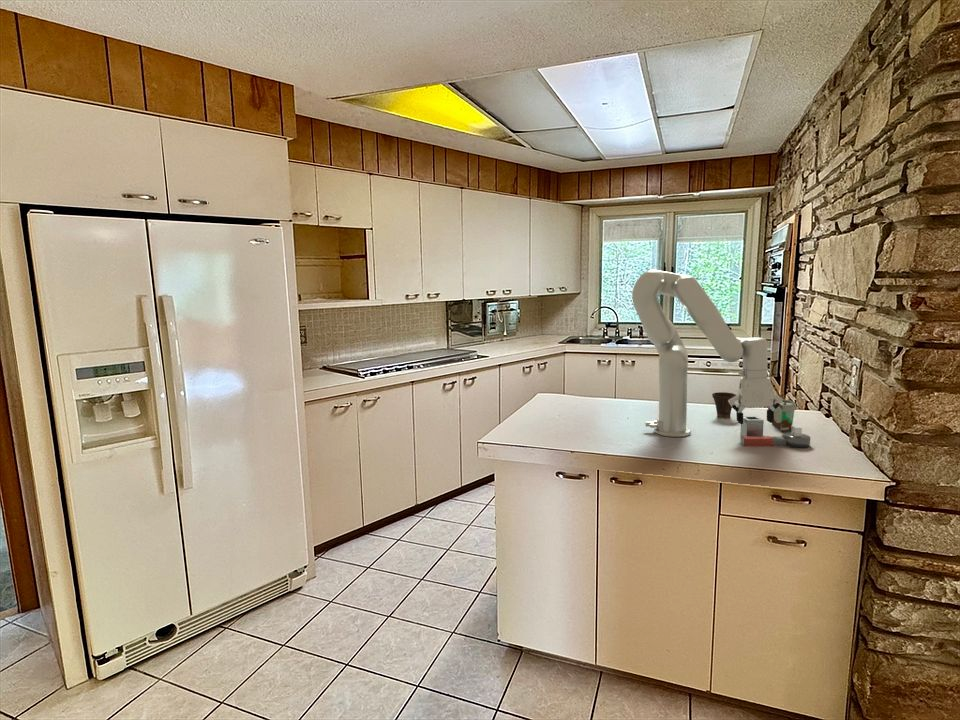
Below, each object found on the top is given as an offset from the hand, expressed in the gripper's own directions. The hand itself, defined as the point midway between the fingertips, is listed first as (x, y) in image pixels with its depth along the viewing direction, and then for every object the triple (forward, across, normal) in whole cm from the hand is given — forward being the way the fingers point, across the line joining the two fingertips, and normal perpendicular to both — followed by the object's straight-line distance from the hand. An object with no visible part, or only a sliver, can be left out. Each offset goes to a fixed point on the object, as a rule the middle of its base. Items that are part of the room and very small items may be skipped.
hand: (755, 422), depth 185 cm
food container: (+6, +15, +11) cm, 20 cm away
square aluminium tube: (+5, -1, 0) cm, 6 cm away
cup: (+5, -1, +28) cm, 29 cm away
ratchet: (+6, +3, -8) cm, 10 cm away
